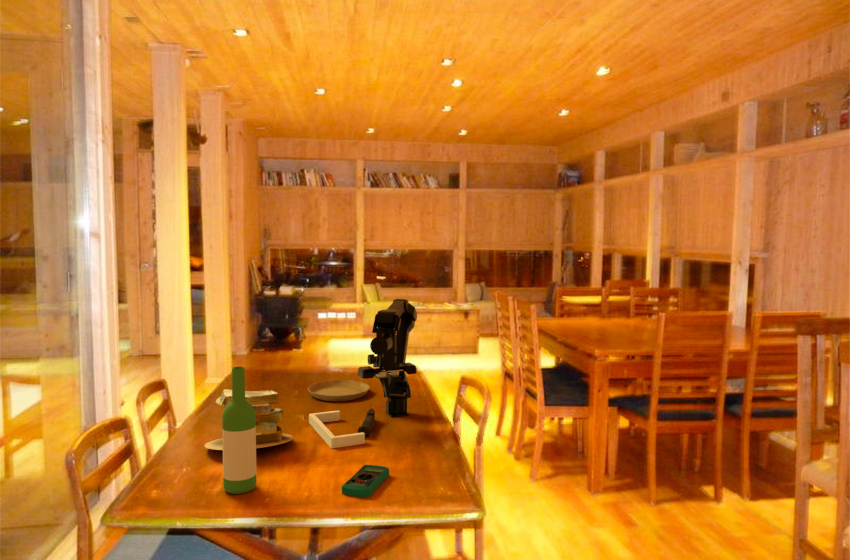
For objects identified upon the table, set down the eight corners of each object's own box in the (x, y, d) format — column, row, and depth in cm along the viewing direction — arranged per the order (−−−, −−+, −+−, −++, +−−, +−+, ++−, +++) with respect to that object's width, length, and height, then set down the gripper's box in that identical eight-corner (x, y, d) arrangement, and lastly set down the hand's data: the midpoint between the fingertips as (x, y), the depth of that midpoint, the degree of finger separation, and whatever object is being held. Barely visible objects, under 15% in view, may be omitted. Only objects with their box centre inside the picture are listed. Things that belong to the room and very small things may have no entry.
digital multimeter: (340, 496, 143) (340, 484, 142) (363, 473, 157) (363, 462, 157) (368, 500, 141) (368, 488, 140) (390, 476, 155) (390, 465, 155)
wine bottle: (218, 495, 142) (216, 371, 140) (229, 482, 150) (227, 364, 148) (251, 495, 142) (249, 371, 140) (260, 482, 150) (258, 364, 148)
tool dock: (338, 419, 203) (338, 410, 203) (364, 443, 179) (364, 433, 178) (308, 422, 199) (308, 413, 199) (331, 448, 174) (331, 438, 174)
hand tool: (370, 439, 183) (370, 424, 183) (357, 438, 184) (357, 423, 184) (380, 421, 202) (380, 407, 202) (369, 420, 203) (369, 407, 202)
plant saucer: (380, 397, 232) (380, 389, 232) (323, 407, 219) (323, 398, 219) (352, 385, 252) (352, 377, 252) (298, 393, 239) (298, 384, 238)
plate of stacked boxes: (210, 436, 184) (209, 383, 183) (292, 431, 190) (292, 379, 189) (199, 466, 160) (198, 405, 159) (293, 458, 166) (293, 399, 165)
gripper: (404, 343, 206) (404, 387, 207) (352, 347, 198) (352, 393, 199) (417, 348, 196) (417, 395, 197) (363, 353, 188) (363, 401, 189)
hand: (387, 396), depth 195 cm, fingers closed
